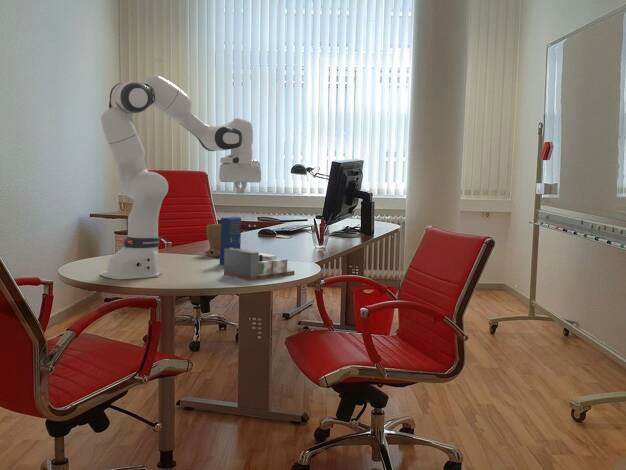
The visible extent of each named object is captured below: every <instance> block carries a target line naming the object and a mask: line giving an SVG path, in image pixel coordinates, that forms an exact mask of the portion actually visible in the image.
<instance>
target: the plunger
mask: <svg viewBox="0 0 626 470" xmlns="http://www.w3.org/2000/svg"><path fill="white" fill-rule="evenodd" d="M259 255H263V261H270V260H277V255H274V254H269V253H263V252H259ZM259 262H262V261H259Z"/></svg>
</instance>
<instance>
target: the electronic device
mask: <svg viewBox="0 0 626 470" xmlns="http://www.w3.org/2000/svg"><path fill="white" fill-rule="evenodd" d="M220 224H221V248H220V256H219V265H221V266H224V248H237V249H241V242H242V241H241V239H242V235H241V232H242V218H241V217H239V216H231V217H229V216H228V217H221V218H220Z"/></svg>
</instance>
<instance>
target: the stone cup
mask: <svg viewBox="0 0 626 470" xmlns="http://www.w3.org/2000/svg"><path fill="white" fill-rule="evenodd" d="M205 234H206V237H207V241H208V242H209V249H207V250H206V251H204V254H205V255H206V256H208V257H211V258H217V257H220V248H221V223H213V224H207V225H206V232H205Z"/></svg>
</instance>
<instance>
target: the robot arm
mask: <svg viewBox="0 0 626 470" xmlns="http://www.w3.org/2000/svg"><path fill="white" fill-rule="evenodd" d="M150 106H154V107H155V108H156V109H158V110H159V111H160V112H161V113H163V114H164V115H165V116H167V117H169V118H171V119H172V120H174V121H176V122H177V123H178V124H180V125H181V126H182V127H183V128H185V129H186V130H187V131H188V132H190V134H192V135H194V137H195V138H196V139H197V141H198V142H199V143H200V145H201V146H202V148H203V149H205V151H209V152H218V151H220V152H221V151H228V150H230V154H228V155H226V156H223V157H220V160H219V161H220V163H221V164H220V165H219V166H220V167H219V169H218V171H219V173H218V178H219V181H220V183H221V182H222V183H234V184H233V185H234V188H235V191H236V194H237V195H239V194H241V195H242V194H243V195H244V194H245V190H246V187H247V186H248V183H255V184H256V183H258V184H259V183H261V181H262V171H261V170H262V169H261V163H260V162H259V161H258V160H257V159H255V160H254V159H253V149H252V147H253V143H254V142H253V141H254V133H253V131H254V130H253V125H252V123H251V122H250V121H249V120H247V119H244V118H234V119H233V120H232V121H230V122H228V123H226V124H222V125H219V126H218V125H217V126H212V125H209V124H206V123H204V122H203V121H202V119H200V118H198V116H197V115H195V114H194V113H193V112H192V100H191V98H190V97H189V95H188V94H186V93H185V92H184V91H183V90H182V89H181V88H180V87H178V86H177V85H176V84H174V83H173V82H171V81H169V80H167V78H164V77H163V76H160V75H157V74H152V75H150V76H148V77H146V78H145V80H144V81H143V82H133V81H122V82H119V83H117V84H115V85H114V86H113V87H112V88H111V90H110V93H109V104H108V108H109V109H106V110H105V111H104V112H103V114H101V117H100V122H101V126H102V130H103V133H104V136H105V139H106V142H107V144H108V146H109V148H110V151H111V153H112V155H113V157H114V159H115V162H116V164H117V169H118V173H119V174H118V175H119V179H120V180H119V187H120V191H121V192H122V193H123V194H124V195H125V196H127V197H128V198H130V199H133V203H132V208H131V211H130V212H129V214H128V217H127V236H126V238H122V237H119V238H118V239H117V241H118V243H119V244H123V247H121V248H120V249H119V250H118V251H117V252H116V253H114V254H113V255H112V256H111V257H109V259H108V263H107V266H106V267H107V268H106V270H103V271H101V272H100V275H101V276H102V277H104V278H108V279H114V280H130V279H133V280H134V279H144V278H145V279H146V278H155V277H157V278H158V277H159V276H160V275H161V274H162V270H161V265H160V259H159V247H160V237H159V217H160V210H161V207H162V204H163V200H164V198H165V196H166V195H167V194H168V192H169V182H168V181H167V179H166V178H165V177H164V176H163V175H162V174H159V173H157V172H154V171H148V169H147V166H146V161H145V155H146V151H145V148H144V145H143V143H142V141H141V139H140V136H139V134H138V130H137V129H136V127H135V125H134V120H133V119H134V117H133V116H134V114H139V113H141V112H142V113H143V112H144V111H146V110H147V109H148V108H149V107H150ZM240 185H241V187H240Z"/></svg>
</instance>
